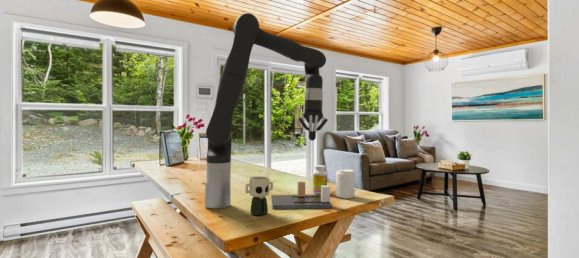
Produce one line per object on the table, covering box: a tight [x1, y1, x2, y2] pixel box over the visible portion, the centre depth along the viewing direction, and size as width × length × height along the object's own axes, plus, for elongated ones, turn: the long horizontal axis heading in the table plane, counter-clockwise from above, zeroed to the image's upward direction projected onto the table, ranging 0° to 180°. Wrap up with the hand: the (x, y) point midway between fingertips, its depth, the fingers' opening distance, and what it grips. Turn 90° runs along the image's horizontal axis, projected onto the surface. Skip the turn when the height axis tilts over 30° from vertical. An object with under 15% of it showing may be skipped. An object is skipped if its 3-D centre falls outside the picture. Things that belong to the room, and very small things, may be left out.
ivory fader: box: [320, 185, 331, 203], centre depth 120 cm, size 3×2×6 cm
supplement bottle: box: [312, 164, 328, 195], centre depth 142 cm, size 7×7×13 cm
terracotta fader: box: [296, 180, 306, 197], centre depth 128 cm, size 3×2×6 cm
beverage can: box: [335, 168, 356, 200], centre depth 135 cm, size 8×8×12 cm
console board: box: [270, 194, 333, 210], centre depth 124 cm, size 23×16×2 cm
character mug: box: [244, 175, 274, 216], centre depth 109 cm, size 11×7×13 cm, turn 122°
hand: (312, 140), depth 129 cm, fingers closed
